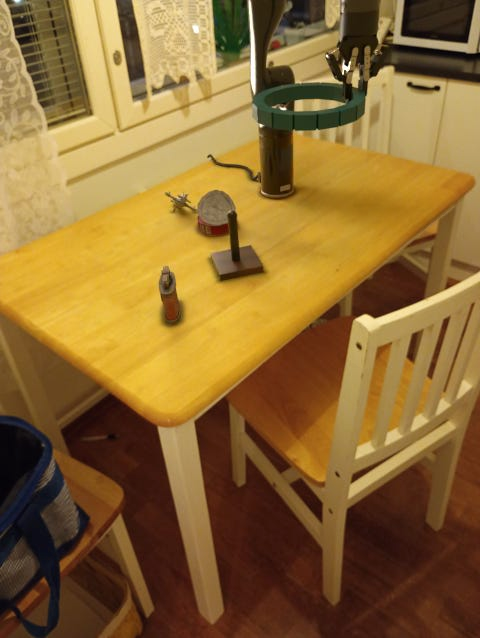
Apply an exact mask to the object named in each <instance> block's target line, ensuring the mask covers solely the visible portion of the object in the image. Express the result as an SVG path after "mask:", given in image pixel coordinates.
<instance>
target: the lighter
mask: <svg viewBox="0 0 480 638" xmlns="http://www.w3.org/2000/svg"><path fill="white" fill-rule="evenodd" d="M158 279H159V280H158V291H159V294H160V299H161V302H162V306H163V315H164V320H165V323H166V324H167V325H176V324H178V323H179V321H180V319H181V314H182V309H181V303H180V300H179V297H178V290H177V280H176V276H175V273H174V272H173V271H171V270H170V266H169V265H163V266H162V270H160V277H159V278H158Z"/></svg>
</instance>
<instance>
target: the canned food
mask: <svg viewBox="0 0 480 638" xmlns="http://www.w3.org/2000/svg"><path fill="white" fill-rule="evenodd" d="M196 209H197V211H196V212H197V216H196V220H197V229H198V232H200V233H201V234H202V235H205V236H209V237H220V236H224V235H227V234H228V235H229V226H228V218H227V214H228V212H229V211H235V212H236V209H237V207H236V204H235V203H234V200H233V199H232V198H231V196H230V195H229V194H228V193H226V192H225V191H224V190H219V189H213V190H209V191H208V192H207V193H205V194H204V195H203V196H201V197H200V199H199V201H198V203H197V207H196Z"/></svg>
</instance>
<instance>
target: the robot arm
mask: <svg viewBox="0 0 480 638" xmlns="http://www.w3.org/2000/svg"><path fill="white" fill-rule="evenodd" d="M381 2H382V0H340V3H339V8H340V9H339V24H338V25H339V27H338V29H339V30H338V37H339V38H338V41H337V44H336V47H335V48H334V49H332V50H330V51H326V52H325V53H324V58H325V60H326V62H327V65H328V67H329V70H330V72H331V74H332V76H333V78H334V79H335V80H336V81H337V82H339V83H342V84H343V89H342V97H343V98H344V99H345V101H346V102H350V101H351V94H352V87H353V83H352V81H353V75H354V73H355V70H356V65H357V67H358V78H359V79H357V88H358V89H360V90H361V91H363V92H364V93H365V98H366V97H367V95H368V90H369V89H368V88H369V87H368V86H369V81H370V79H372V78H375V77H377V76H378V75H379V72H380V70H381V68H382V67H383V65H384V62H385V60H386V58H387V56H388V54H389V52H390V47H389V46H388V45H385V44H382V43H380V42H379V38H378V32H379V23H380V22H379V21H380V11H381V9H380V8H381ZM246 6H247V15H248V16H247V19H248V31H249V88H250V89H249V90H250V97H251V101H252V100H253V98H254V96H255V95H257V94H259V93H261V92H262V91H266V90H267V89H271V88H274V87H278V86H282V85H289V84H296V77H295V73H294V70H293V68H292V67H291V65H290V66H289V65H287V64H280V65H275V66H267V61H268V52H269V48H270V45H271V42H272V39H273V38H274V35H275V34H276V31H277V29H278V27H279V25H280V22H281V20H282V19H283V15H284V13H285V11H286V7H287V0H246ZM373 54H374V56H373ZM339 56H340V57H341V59H342V69H341V67H340V65H339V62H338V61H339V60H340V57H339ZM372 56H373V58H372V60H371V57H372ZM295 106H296V101H289V102H284V103H281V104H277V105H274V106H272V107H273V108H274V107H275V108H276V109H279V110H288V111H296V110H295V109H296V108H295ZM257 126H258V128H257V129H258V144H259V166H260V168H259V169H260V172H258V171H257V174H256V175H255V176H253V173H252V171H251V168H249V167H248V166H246V165H244V164H243V165H242V164H238V163H237V164H236V163H224V162H220V161H217V159H215V157H214V156H213V155H212V154H211V153H210V154H209V153H208V154H207V156H206V158H207V159H211V160H212V161H213V163H214V164H216V165H218V166H221V167H228V168H229V167H230V168H231V167H232V168H240V169H244V170H246V171H247V173H248V176H249V179H250V180H251V181H256V180H257V181H258V183H259V184H260V193H261V195H262V196H263V197H265V198H269V199H283V198H288V197H290V196H292V195H293V194H294V192H295V186H294V175H295V174H294V130H293V131H291V130H282V129H274V127H273V128H271V127H268V126H265V125H262V124H259V123H258V125H257Z"/></svg>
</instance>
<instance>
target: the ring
mask: <svg viewBox="0 0 480 638" xmlns="http://www.w3.org/2000/svg"><path fill="white" fill-rule="evenodd" d="M342 89H343V83H340V82H339V83H337V82H326V81H325V82H323V81H322V82H319V81H316V82H314V81H313V82H301V83H300V82H295V84H289V85H282V86H278V87H274V88H271V89H267V90H266V91H262V92H261V93H259V94H257V95H255V96H254V98H253V100H252V99H251V113H252V115H251V116H252V118H253V119H254V121H255V122H256V123H258V125H259V124H262V125H265V126H268V127H271V128H273V127H274V129H282V130H291V131H293V132H294V131H295V132H305V131H323V130H329V129H334V128H339V127H343V126H346V125H350V124H352V123H354V122H358V120H359V119H361V118H362V117H363V116H364V115H365V114H366V100H367V98H366V97H365V93H364V92H363V91H361V90H360V89H358V87H355V86H352V94H351V101H350V102H346V101H345V99H344V98H343V97H342ZM301 100H303V101H304V100H324V101H333V102H338V103H341V104H342V105H339V106H335V107H332V108H325V109H320V110H319V109H318V110H298V111H297V110H294V111H288V110H279V109H276V107H275V106H274V105H277V104H281V103H284V102H289V101H295V102H296V101H301ZM272 106H273V107H272Z"/></svg>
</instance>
